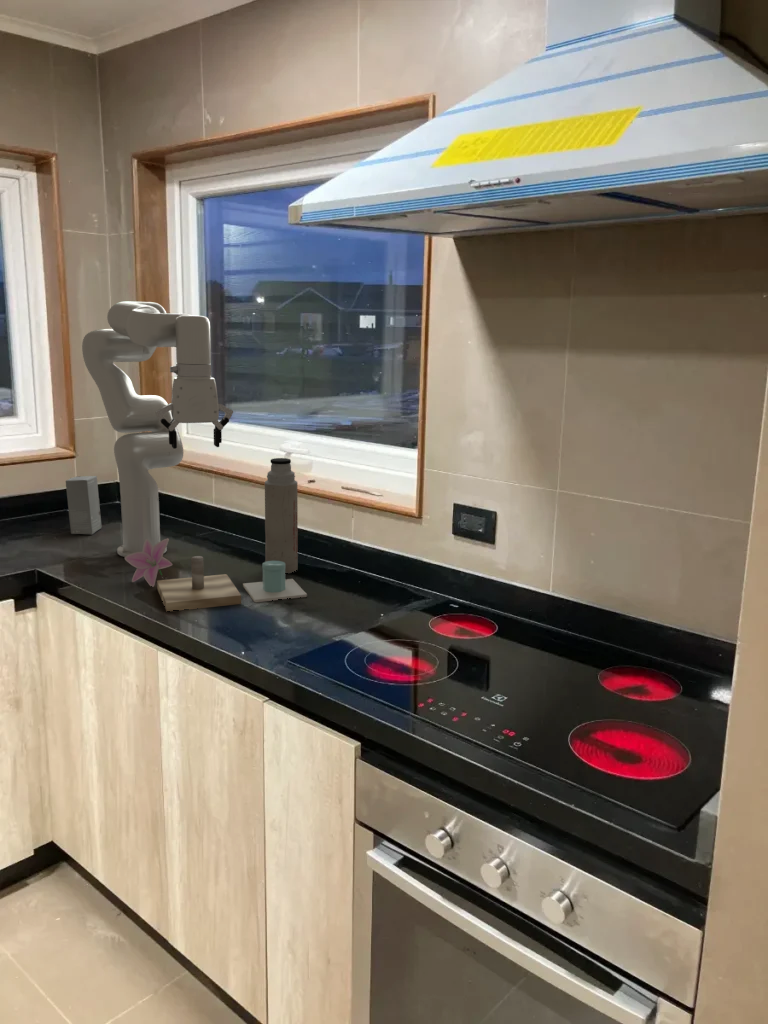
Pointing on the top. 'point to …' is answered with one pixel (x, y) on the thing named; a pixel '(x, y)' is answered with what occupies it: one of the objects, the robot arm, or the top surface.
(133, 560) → the lily
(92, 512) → the skincare box
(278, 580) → the cap
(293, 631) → the top surface
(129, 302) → the robot arm
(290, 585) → the grey mat
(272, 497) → the thermos bottle
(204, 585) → the post block
